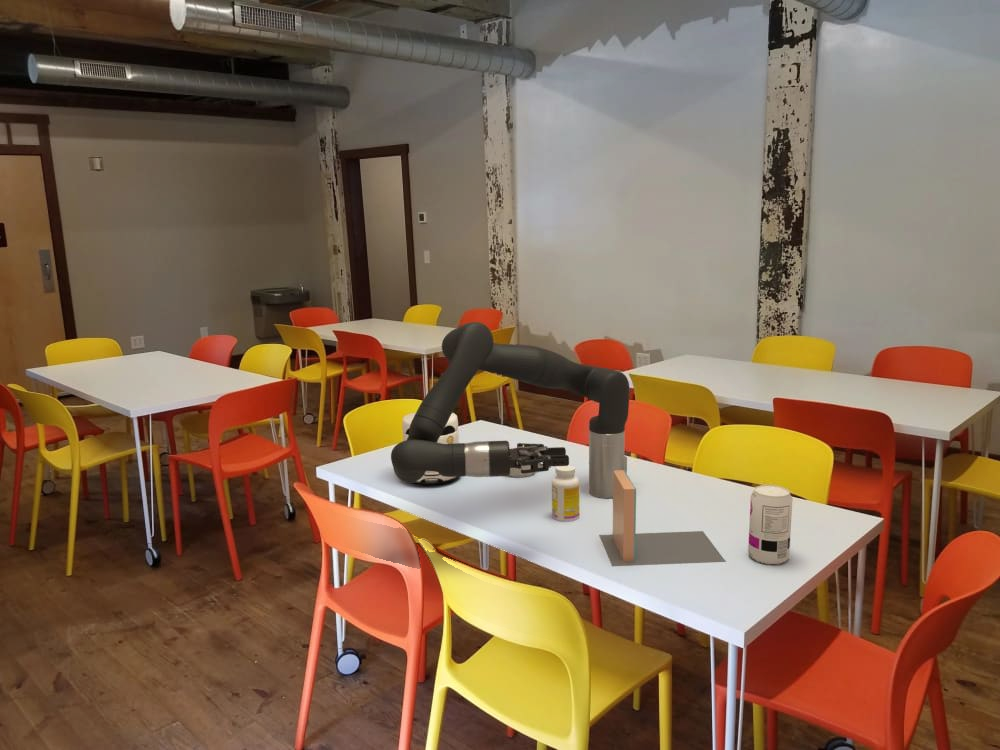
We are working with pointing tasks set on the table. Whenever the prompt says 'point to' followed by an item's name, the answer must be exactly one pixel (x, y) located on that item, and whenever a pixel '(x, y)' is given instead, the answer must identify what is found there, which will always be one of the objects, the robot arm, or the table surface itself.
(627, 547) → the tile
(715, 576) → the table surface
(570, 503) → the supplement bottle
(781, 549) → the supplement can
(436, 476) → the milk container
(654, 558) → the mat
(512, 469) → the ramekin
